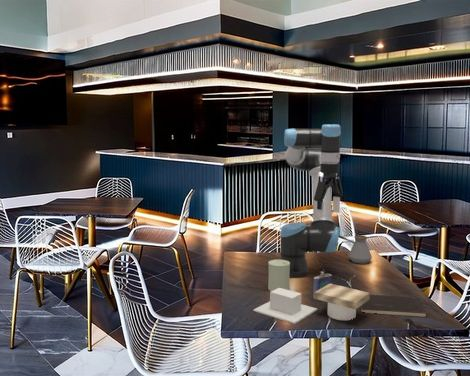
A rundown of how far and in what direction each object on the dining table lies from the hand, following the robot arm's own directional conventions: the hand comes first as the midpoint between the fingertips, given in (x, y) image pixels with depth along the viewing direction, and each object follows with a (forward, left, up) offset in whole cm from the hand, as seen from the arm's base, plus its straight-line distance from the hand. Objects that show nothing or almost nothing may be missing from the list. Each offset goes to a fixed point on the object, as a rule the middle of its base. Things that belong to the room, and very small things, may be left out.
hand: (328, 214), depth 193 cm
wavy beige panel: (+16, -18, -27) cm, 36 cm away
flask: (+2, -7, -33) cm, 34 cm away
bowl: (+16, -18, -33) cm, 41 cm away
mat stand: (-2, -28, -33) cm, 43 cm away
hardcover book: (+27, +1, -33) cm, 43 cm away
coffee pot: (-11, +46, -33) cm, 58 cm away
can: (-17, -10, -33) cm, 38 cm away
